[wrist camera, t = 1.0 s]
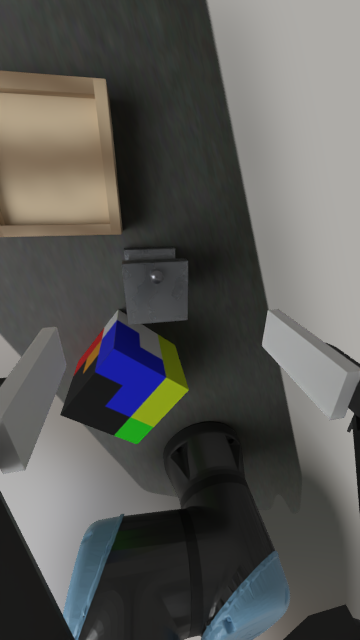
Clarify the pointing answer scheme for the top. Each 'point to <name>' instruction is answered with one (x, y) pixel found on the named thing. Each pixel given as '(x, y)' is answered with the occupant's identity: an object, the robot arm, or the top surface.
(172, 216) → the top surface
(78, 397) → the puzzle toy
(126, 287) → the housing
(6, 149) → the tray
